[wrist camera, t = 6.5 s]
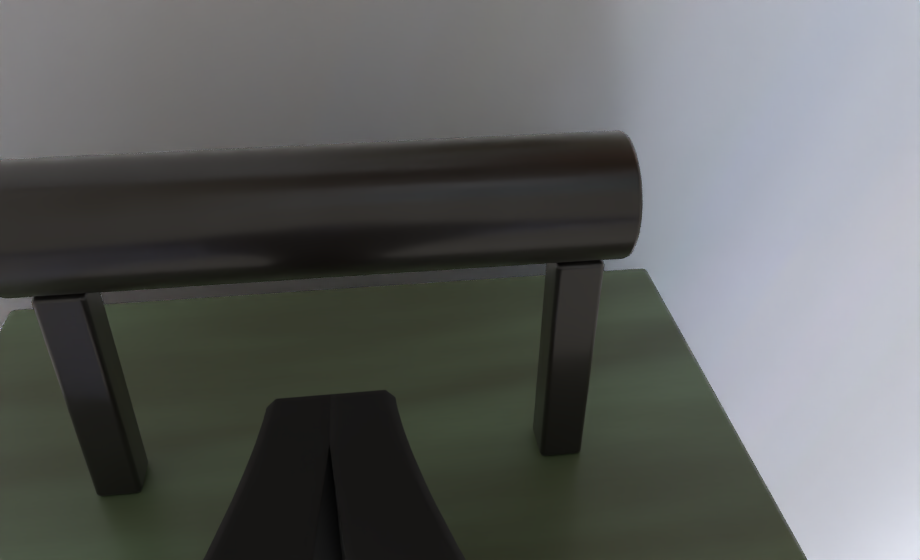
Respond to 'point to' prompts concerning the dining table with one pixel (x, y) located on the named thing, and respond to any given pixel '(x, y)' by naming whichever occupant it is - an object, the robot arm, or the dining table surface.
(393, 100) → the dining table surface
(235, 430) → the drawer
